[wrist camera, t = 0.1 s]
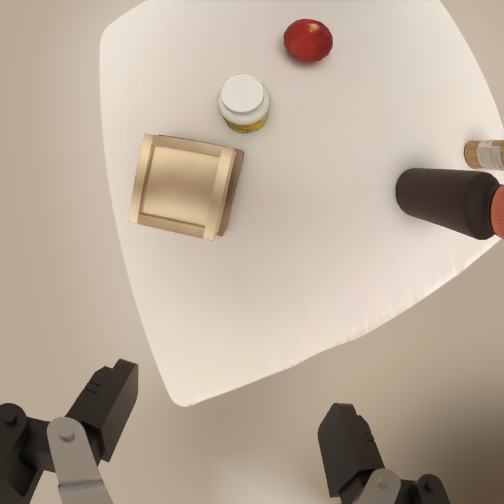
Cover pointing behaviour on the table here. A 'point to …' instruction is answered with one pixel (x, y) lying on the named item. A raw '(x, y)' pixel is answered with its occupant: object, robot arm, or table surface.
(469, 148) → the sprinkles bottle
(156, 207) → the tower top
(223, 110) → the supplement bottle
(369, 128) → the table surface
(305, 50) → the onion
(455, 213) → the vinegar
